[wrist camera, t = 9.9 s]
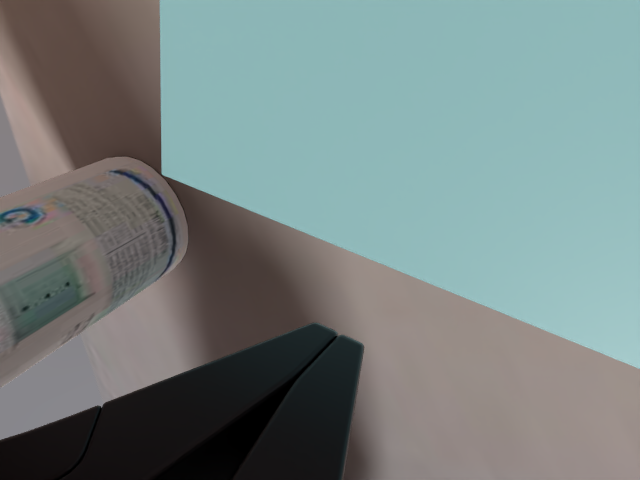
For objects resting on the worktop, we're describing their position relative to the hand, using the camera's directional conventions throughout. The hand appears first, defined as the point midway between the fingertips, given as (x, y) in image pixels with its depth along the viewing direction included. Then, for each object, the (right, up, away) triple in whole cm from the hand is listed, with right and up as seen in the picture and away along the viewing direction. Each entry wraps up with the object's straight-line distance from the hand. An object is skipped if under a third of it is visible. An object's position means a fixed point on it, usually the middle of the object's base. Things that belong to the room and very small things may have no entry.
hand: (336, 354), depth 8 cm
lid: (+4, +4, +5) cm, 7 cm away
